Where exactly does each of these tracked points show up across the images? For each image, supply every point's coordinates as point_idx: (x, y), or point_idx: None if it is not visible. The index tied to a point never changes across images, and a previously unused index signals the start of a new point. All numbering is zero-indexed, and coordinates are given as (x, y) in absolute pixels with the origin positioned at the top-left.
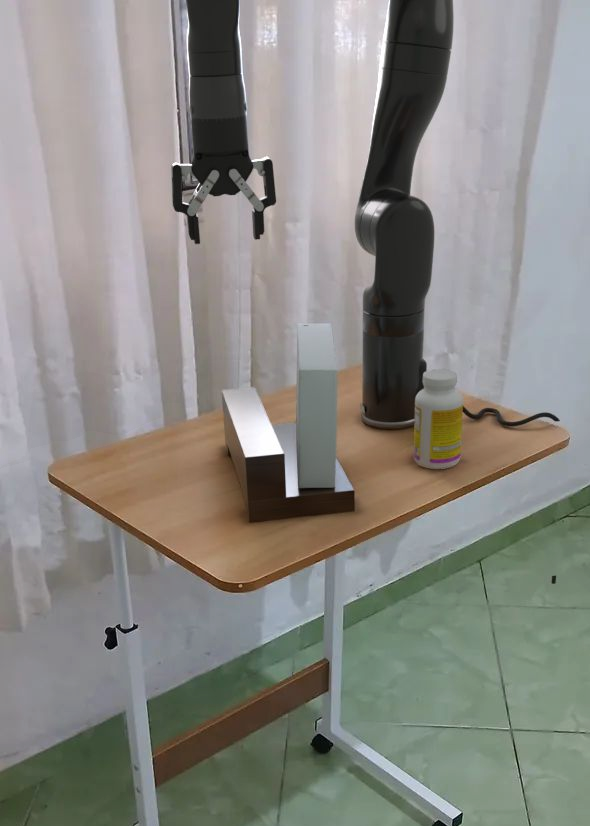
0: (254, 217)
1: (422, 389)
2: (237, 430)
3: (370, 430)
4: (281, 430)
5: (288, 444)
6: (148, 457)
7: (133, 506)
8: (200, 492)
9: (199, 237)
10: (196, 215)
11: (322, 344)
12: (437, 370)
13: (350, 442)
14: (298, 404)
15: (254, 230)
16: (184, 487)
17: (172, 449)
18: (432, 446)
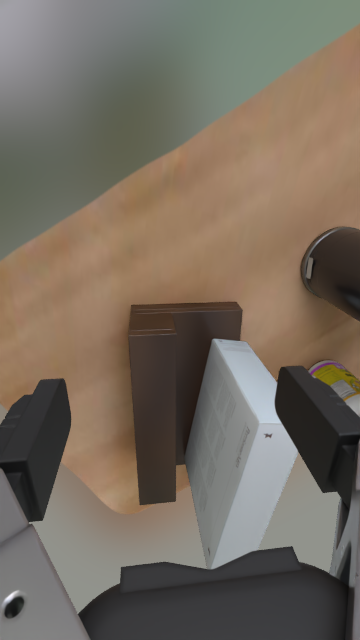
0: (311, 472)
1: (355, 412)
2: (138, 454)
3: (299, 290)
4: (196, 332)
5: (195, 369)
6: (39, 312)
7: None
8: (101, 400)
9: (65, 441)
10: (31, 499)
11: (261, 509)
12: None
13: (266, 318)
14: (201, 516)
15: (288, 416)
16: (85, 389)
17: (67, 295)
18: None
